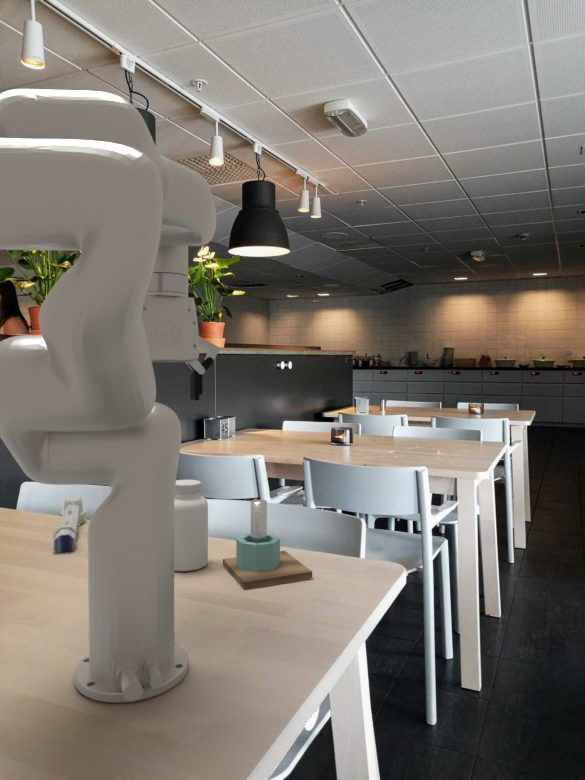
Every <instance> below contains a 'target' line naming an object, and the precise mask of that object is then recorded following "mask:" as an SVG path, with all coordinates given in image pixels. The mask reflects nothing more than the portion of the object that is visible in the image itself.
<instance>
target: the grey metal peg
mask: <svg viewBox="0 0 585 780" xmlns="http://www.w3.org/2000/svg"><path fill="white" fill-rule="evenodd" d="M267 514H268V501H267V500H266V499H252V500H250V533H251V542H253V543H262V542H267V533H268V515H267Z"/></svg>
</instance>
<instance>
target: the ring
mask: <svg viewBox="0 0 585 780" xmlns="http://www.w3.org/2000/svg"><path fill="white" fill-rule="evenodd" d="M235 546H236V547H235V548H236V549H235V550H236V556H235V557H236V564H237V565H238V566H239V567H240V568H241V569H242V570H248V571H255V572H259V571H266V570H273V569H274V568H276V567H277V566H278V565H280V551H281V538H280V537H279V536H278V535H276V534H274V533H268V532H267V542H262V543H253V542H251V532H250V533H243V534H241V535H240V536H238V537H236V545H235Z"/></svg>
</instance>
